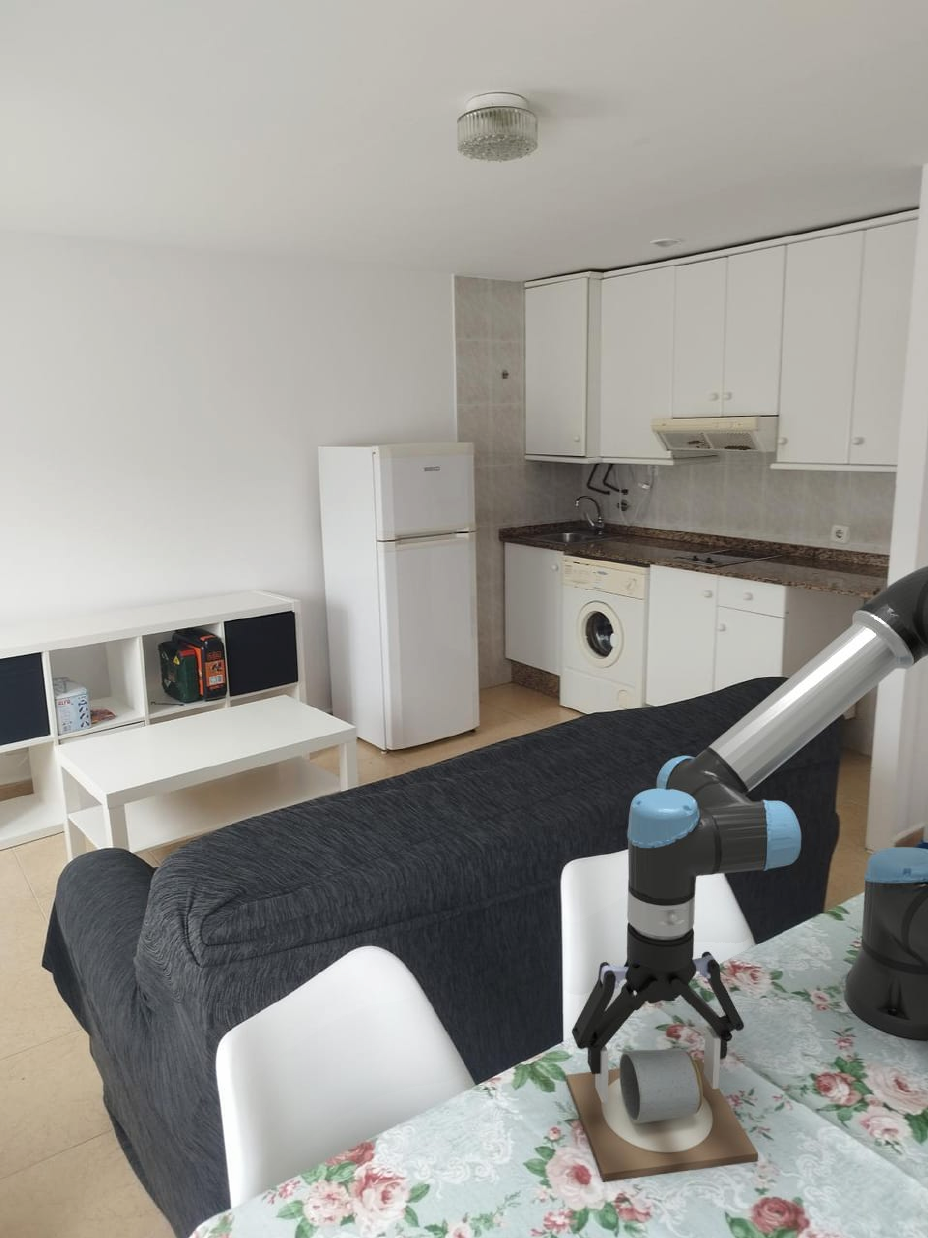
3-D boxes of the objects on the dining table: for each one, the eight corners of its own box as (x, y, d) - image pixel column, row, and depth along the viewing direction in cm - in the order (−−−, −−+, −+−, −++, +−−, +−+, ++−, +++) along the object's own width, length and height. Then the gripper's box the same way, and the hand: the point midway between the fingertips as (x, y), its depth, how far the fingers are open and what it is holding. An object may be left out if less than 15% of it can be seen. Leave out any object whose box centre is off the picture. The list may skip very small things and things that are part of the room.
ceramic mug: (706, 1129, 104) (707, 1069, 102) (639, 1139, 102) (639, 1079, 101) (669, 1069, 114) (670, 1014, 113) (608, 1078, 112) (608, 1023, 111)
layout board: (701, 1065, 116) (701, 1056, 116) (757, 1161, 101) (758, 1151, 100) (566, 1081, 114) (566, 1072, 113) (603, 1182, 98) (603, 1171, 98)
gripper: (562, 952, 97) (562, 1123, 101) (778, 931, 100) (770, 1097, 104) (546, 917, 104) (547, 1078, 108) (748, 898, 108) (742, 1055, 112)
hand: (656, 1088), depth 106 cm, fingers open, 13 cm apart
